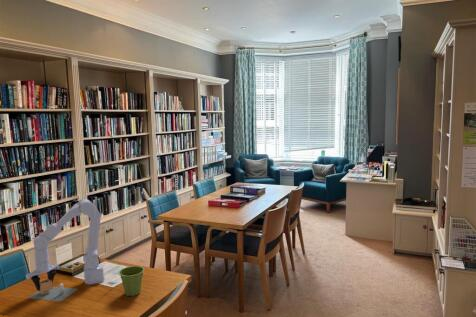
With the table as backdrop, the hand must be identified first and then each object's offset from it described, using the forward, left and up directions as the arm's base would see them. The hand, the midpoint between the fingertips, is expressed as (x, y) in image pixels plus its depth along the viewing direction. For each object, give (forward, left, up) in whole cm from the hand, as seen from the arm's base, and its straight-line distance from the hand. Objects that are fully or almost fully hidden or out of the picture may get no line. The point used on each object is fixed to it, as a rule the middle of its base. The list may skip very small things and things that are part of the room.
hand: (44, 287), depth 167 cm
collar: (0, 0, -1) cm, 1 cm away
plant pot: (-40, +13, -4) cm, 42 cm away
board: (-4, +2, -4) cm, 6 cm away
